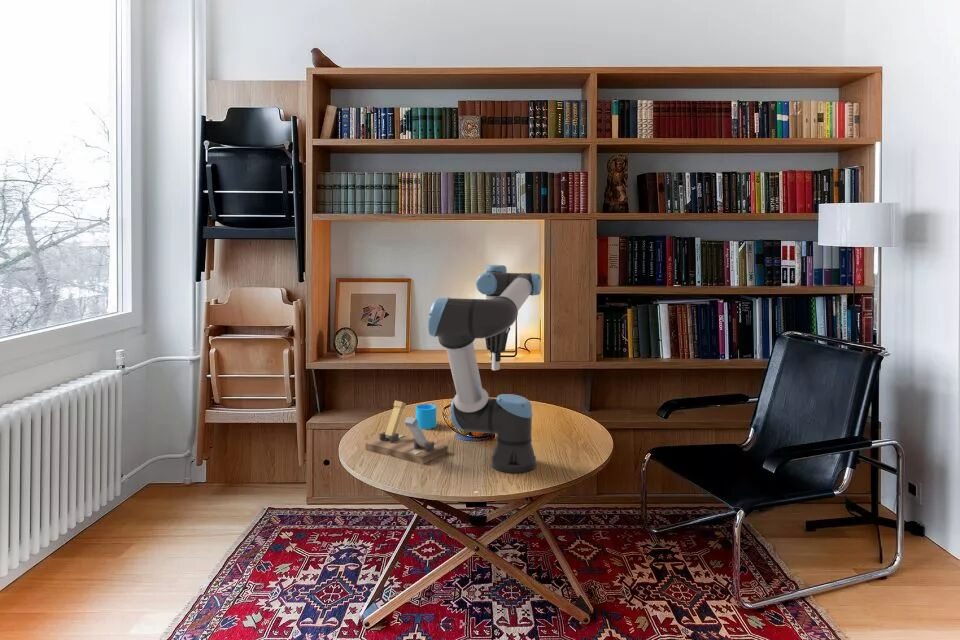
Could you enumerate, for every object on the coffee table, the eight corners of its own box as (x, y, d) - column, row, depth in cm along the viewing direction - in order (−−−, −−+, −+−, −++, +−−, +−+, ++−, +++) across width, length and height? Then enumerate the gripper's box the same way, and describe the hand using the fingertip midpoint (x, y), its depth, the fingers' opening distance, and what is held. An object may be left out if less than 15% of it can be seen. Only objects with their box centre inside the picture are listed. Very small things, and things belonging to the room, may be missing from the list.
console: (447, 452, 230) (447, 439, 230) (423, 464, 219) (423, 450, 218) (391, 439, 244) (391, 426, 244) (365, 449, 233) (365, 436, 232)
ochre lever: (394, 440, 235) (406, 403, 239) (390, 439, 233) (402, 401, 237) (386, 438, 237) (398, 402, 241) (382, 437, 235) (394, 400, 239)
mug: (436, 429, 257) (436, 409, 256) (416, 430, 256) (415, 409, 255) (435, 420, 269) (435, 401, 267) (415, 421, 268) (415, 401, 267)
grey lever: (430, 444, 227) (416, 418, 219) (427, 450, 226) (412, 423, 217) (422, 442, 229) (407, 416, 221) (419, 448, 228) (404, 421, 219)
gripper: (515, 307, 237) (515, 371, 241) (491, 304, 247) (491, 365, 250) (501, 309, 233) (500, 374, 236) (476, 306, 242) (476, 368, 245)
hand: (495, 369), depth 243 cm, fingers closed
